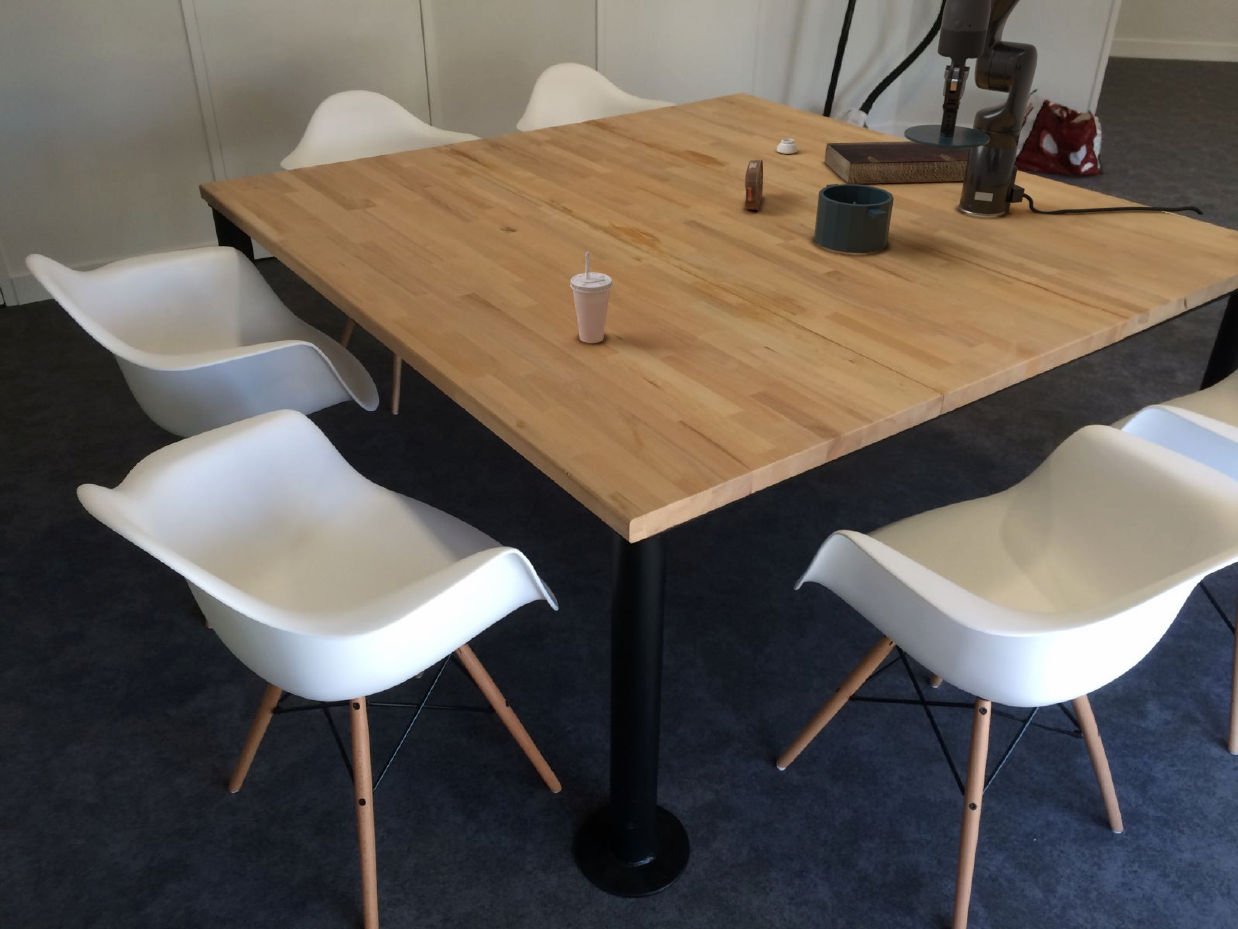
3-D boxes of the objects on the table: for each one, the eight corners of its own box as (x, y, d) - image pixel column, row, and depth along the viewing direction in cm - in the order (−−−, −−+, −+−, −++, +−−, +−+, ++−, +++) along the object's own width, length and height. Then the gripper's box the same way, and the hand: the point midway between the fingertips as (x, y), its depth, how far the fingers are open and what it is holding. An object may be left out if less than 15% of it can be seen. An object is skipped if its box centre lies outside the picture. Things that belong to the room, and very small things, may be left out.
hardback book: (941, 159, 256) (944, 138, 253) (972, 182, 240) (976, 159, 238) (824, 162, 253) (826, 141, 250) (847, 185, 237) (850, 162, 235)
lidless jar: (801, 152, 261) (785, 148, 264) (802, 140, 259) (786, 136, 262) (788, 155, 258) (772, 151, 261) (789, 143, 256) (773, 139, 259)
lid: (957, 128, 195) (963, 94, 192) (1006, 148, 184) (1012, 112, 180) (887, 133, 191) (892, 99, 188) (932, 154, 180) (938, 118, 176)
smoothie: (570, 330, 168) (568, 245, 161) (610, 329, 169) (610, 244, 161) (572, 347, 163) (570, 259, 155) (613, 346, 163) (614, 258, 156)
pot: (857, 224, 214) (863, 177, 209) (907, 256, 198) (914, 206, 193) (796, 230, 210) (800, 183, 205) (841, 263, 195) (847, 212, 190)
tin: (756, 215, 218) (759, 174, 214) (741, 214, 219) (744, 173, 215) (763, 194, 231) (766, 155, 227) (748, 193, 232) (751, 154, 227)
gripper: (986, 33, 171) (967, 142, 180) (989, 20, 182) (971, 123, 191) (938, 30, 173) (922, 138, 182) (944, 18, 184) (928, 120, 193)
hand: (947, 130), depth 187 cm, fingers closed on lid, 2 cm apart
